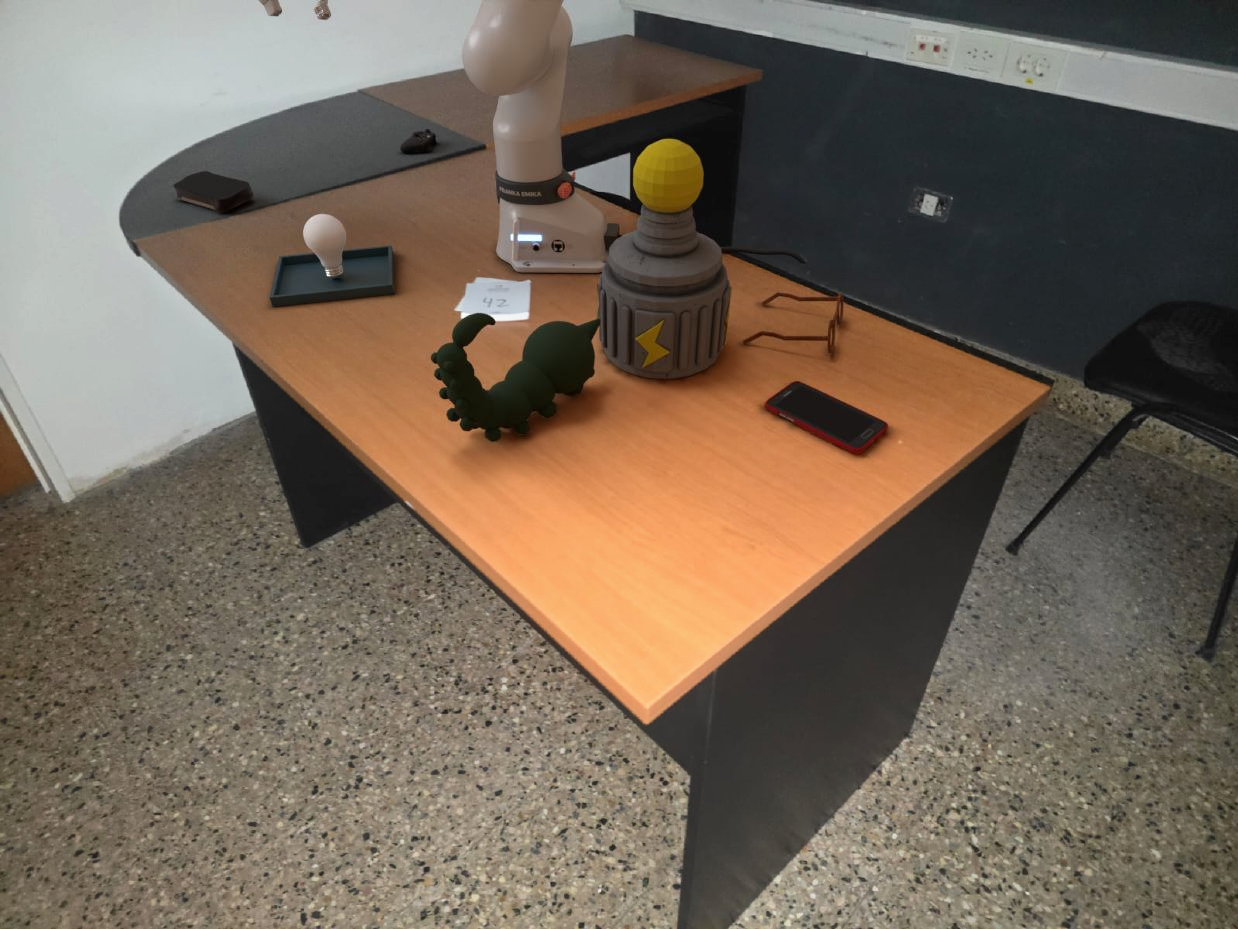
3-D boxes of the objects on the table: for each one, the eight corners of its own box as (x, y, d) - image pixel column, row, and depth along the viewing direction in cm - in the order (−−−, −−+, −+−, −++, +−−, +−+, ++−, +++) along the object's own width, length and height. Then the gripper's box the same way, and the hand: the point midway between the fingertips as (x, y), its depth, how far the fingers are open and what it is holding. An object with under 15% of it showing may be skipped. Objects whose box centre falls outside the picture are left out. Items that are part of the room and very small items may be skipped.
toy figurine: (488, 479, 98) (628, 382, 109) (456, 354, 84) (619, 260, 96) (443, 445, 103) (582, 356, 114) (406, 323, 89) (567, 236, 101)
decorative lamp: (719, 390, 109) (740, 172, 89) (586, 376, 112) (578, 162, 92) (729, 321, 123) (750, 121, 104) (611, 311, 126) (609, 113, 106)
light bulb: (339, 265, 138) (323, 204, 130) (364, 275, 135) (349, 213, 128) (307, 280, 134) (289, 217, 126) (332, 291, 131) (316, 227, 123)
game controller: (411, 135, 187) (425, 117, 184) (429, 152, 189) (443, 135, 186) (397, 149, 180) (411, 131, 177) (415, 167, 182) (430, 149, 179)
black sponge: (260, 201, 160) (255, 183, 157) (225, 216, 154) (219, 197, 152) (207, 186, 166) (201, 169, 164) (172, 200, 161) (165, 182, 158)
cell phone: (857, 457, 98) (859, 451, 97) (761, 408, 105) (762, 402, 105) (889, 429, 102) (891, 424, 101) (794, 384, 110) (795, 378, 109)
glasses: (830, 361, 114) (836, 331, 111) (742, 344, 118) (745, 315, 115) (843, 317, 124) (849, 289, 121) (761, 303, 127) (765, 275, 124)
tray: (393, 253, 141) (391, 245, 140) (394, 293, 130) (392, 284, 129) (281, 265, 138) (279, 255, 137) (272, 306, 127) (269, 297, 126)
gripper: (208, -104, 109) (254, 0, 112) (324, -81, 125) (362, 9, 128) (186, -77, 112) (232, 22, 116) (302, -59, 128) (339, 29, 131)
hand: (301, 16), depth 122 cm, fingers open, 8 cm apart
